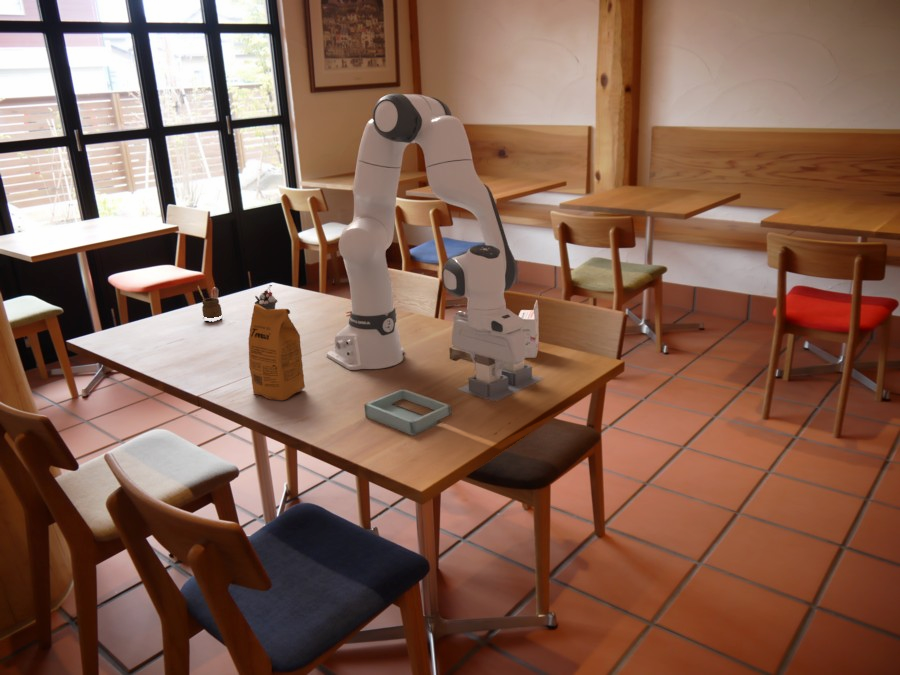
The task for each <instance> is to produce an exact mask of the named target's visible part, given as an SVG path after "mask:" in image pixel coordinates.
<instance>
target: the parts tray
mask: <svg viewBox="0 0 900 675" xmlns="http://www.w3.org/2000/svg"><path fill="white" fill-rule="evenodd" d="M400 400H405V401H409V402H411V403H414V404H416V405H419V406H423V407H424V408H427V409H431V410H434V411H431V412H429V413H426V414H421V413H419V412H416V411H413V410H411V409H408V408H405V407H402V406H401V405H400V406H399V405H398V404H395V403H396V402H398V401H400ZM364 413H365V414H364V416H365V417H366V418H367V419H371V420H374V421H376V422H378V423H380V424H383V425H385V426H387V427H391V428H392V429H395V430H398V431H400V432H402V433H405V434H408V435H410V436H412V437H413V436H416V435H419V434H420V433H422V432H425V431H426V430H428V429H430V428H431V429H432V428H433V427H435V426H437V425H439V424H441V423H443V422H442V421H440V420H441V419H443V418H445V417H448V416H450V415H452V406H451V404H448V403H445V402H441V401H439V400H436V399H434V398H430V397H428V396H425V395H422V394H419V393H416V392H413V391H410V390H408V389H405V388H401V389H398V390H396V391H393V392H392V393H389V394H386V395H384V396H381V397H379V398H377V399H373V400H372V401H369V402H366V403H365V404H364Z"/></svg>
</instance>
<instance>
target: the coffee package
mask: <svg viewBox="0 0 900 675" xmlns="http://www.w3.org/2000/svg"><path fill="white" fill-rule="evenodd" d="M290 314H291V311H290V309H289V308H275V309H269V310H267V309H265V308H263V307H262V306H260V305H258V304H255V303H254V305H253V311H252V314H251V315H252V316H251V320H250V321H251V322H250V328H249V334H248V335H249V336H248V365H249V366H248V368H249V372H250V376H251V385H252V391H253V392H252V394H253V393H254V394H253V395H255V394H257V396H263V397H264V398H265V399H267V398H268V399H267V400H272V399H275V401H285V400H288V399H289V398H290V397H292V396H294V394H296V393H299V392H301V391H302V390H304V389H305V388H306V386H305V379H304V378H305V377H304V369H303V366H304V364H303V358H302V357H303V356H302V355H303V354H302V347H301V336H300V333H299V332H298V330H297V328H296V327H295V325H294V323H293V321H292V320H291V318H290V316H289V315H290Z"/></svg>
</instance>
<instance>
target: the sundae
mask: <svg viewBox="0 0 900 675" xmlns="http://www.w3.org/2000/svg"><path fill="white" fill-rule="evenodd" d="M271 287H273V285H271V284H269V287H268V288H267V289H265V290H264V291H263V292H261V294H260V295H259V297H258V296H257V295H255V296H254V297H255V299H256V301H255V302H254V305H255V304H258V305H260V306H262V307H263V308H265V309H267V310H269V309H276V303H278V299H277V298H276V297H275V296H274V295H273V292H272V291H271Z"/></svg>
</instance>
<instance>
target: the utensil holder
mask: <svg viewBox="0 0 900 675" xmlns="http://www.w3.org/2000/svg"><path fill="white" fill-rule="evenodd" d="M197 290H198V292H199V293H200V296H201V297H202V299H203V300H202V302H201V303H202V308H201V309H202V310H201V311H202V317H203V316H204V317H207V318H214V317H219V316H221V315H222V316H223V313H222V312H223V311H222V307H221V304H220V301H219V297H216V296H219V289H218V288H217V287H212V289H211V291H210V292H211V295H210V296H211V297H209V298H205V297H204V295H203V292H202V290H201V288H200V285H197ZM213 290H217V293H216V294H214V295H213ZM213 296H214V297H213ZM204 317H203V318H204Z"/></svg>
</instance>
